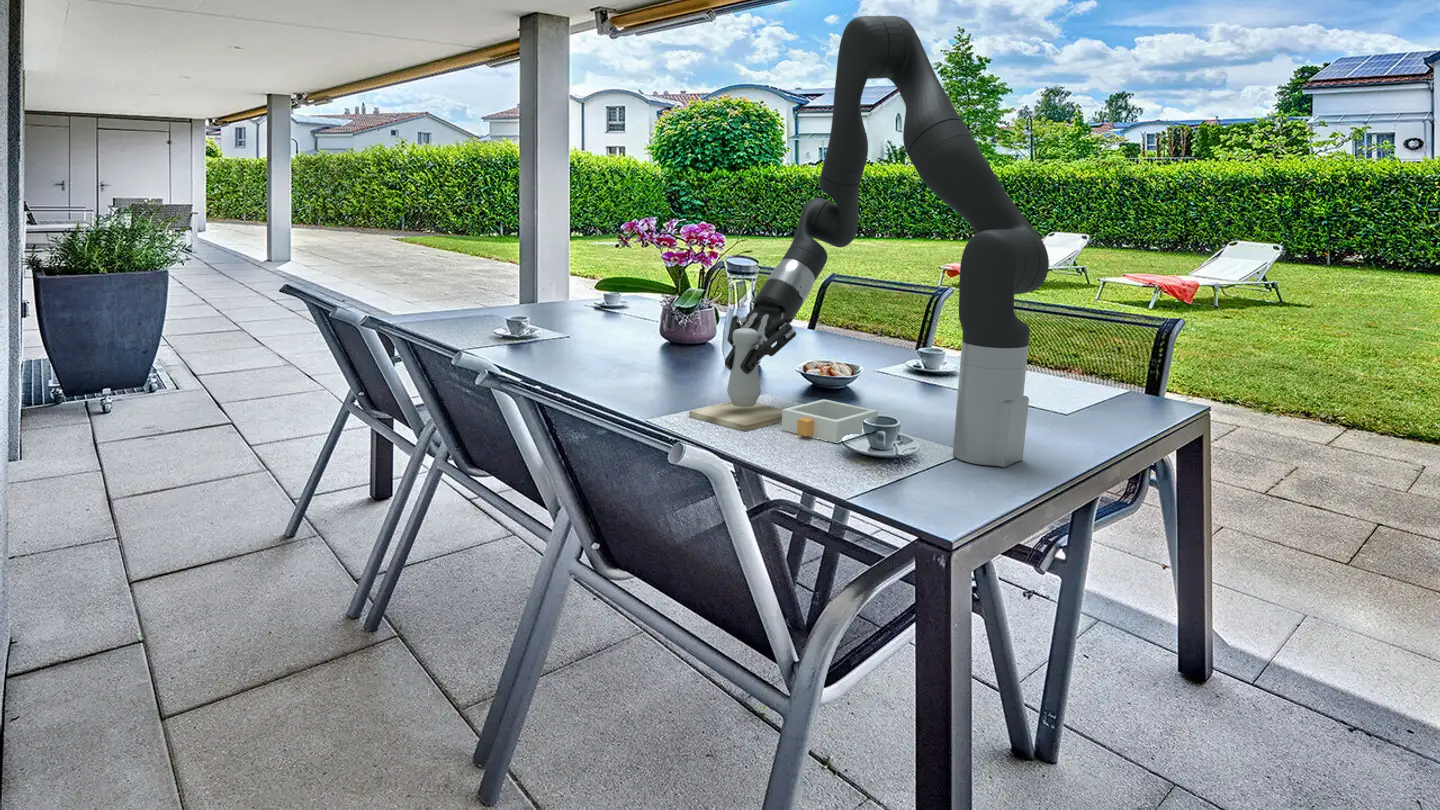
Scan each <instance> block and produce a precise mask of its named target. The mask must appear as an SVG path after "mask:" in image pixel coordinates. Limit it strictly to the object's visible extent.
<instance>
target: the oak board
mask: <svg viewBox="0 0 1440 810" xmlns="http://www.w3.org/2000/svg"><path fill="white" fill-rule="evenodd" d="M782 409H783V408H778V407H774V406H770V405H766V404H761V403H757V402H756V404H755V405H754V406H750V407H739V406H734V405H733V404H732V402H731V401H729V402H723V403H719V404H715V405H710V406H706V407H702V408H698V409H697V408H696V409H693V410H689V412H688V413H689V415H688V417H690V418H693V419H697V420H701V421H703V422H708V423H711V424H715V425H716V424H717V425H720V426H723V427H728V428H730V429H735V430H739V431H742V432H749V431H753V430H755V429H760V428H764V427H768V426H771V425H770V424H772V425H774V423H776V424H778V423H777V422H779V423H781V422H780V421H782ZM767 425H768V426H767ZM763 426H764V427H763ZM752 429H753V430H752Z"/></svg>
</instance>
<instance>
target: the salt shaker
mask: <svg viewBox="0 0 1440 810" xmlns="http://www.w3.org/2000/svg"><path fill="white" fill-rule="evenodd" d="M757 340H758V335H757V331H756V330H754V329H750V328H740V329H736V330H735V331H734V332H733V342H734V343H736V347H735V354H734V361H733V365H732V370H730V375H729V378H728V383H727V388H726V391H727V395H728V397H729V400H730V402H732V404H733V405H734V406H739V407H750V406H754V405H755V404H756V403H757V401H758V399H759V397H760V396H761V391H762V390H761V384H760V383H761V382H760V375H759V368H758V363H757V364H756V366H755V368H754V369H753V370H752V371H751V372H750V373H749V374H746V373H744V372H743V371H742V369H741V368H740V365H741V363H742V362H743V360H744V359H745V357H746V355H747V354H748V352H749V351H750V349H751V350H753V345H754V343H756V342H757Z"/></svg>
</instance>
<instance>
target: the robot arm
mask: <svg viewBox="0 0 1440 810" xmlns="http://www.w3.org/2000/svg"><path fill="white" fill-rule="evenodd" d="M837 55H838V56H837V64H836V74H835V75H836V76H835V83H834V84H835V85H834V92H833V93H834V95H833V103H832V104H833V107H832V119H831V125H830V126H831V127H830V133H829V140H828V144H827V149H826V153H825V155H824V161H823V164H822V169H821V173H820V175H819V181H818V182H819V185H818V186H819V188H820V190H821V191H822V192H823V193H824V194H826V195H827V196H828V197H830V198H831V199H832V200H833V201H834V202H832V201H830V200H828V199H825V198H822V197H813V198H811V199H810V200H808V201H807V202H805V204H804V206H803V207H802V210H801V213H800V217H799V220H798V224H797V228H796V232H795V234H794V237H793V238H792V239H793V240H792V242H791V244H790V246H789V248H788V249H787V251H786V253H785V254H784V256H783V257H782V258H781V260H780V262H779V263H778V264H777V265H776V266H775V267H774V269H773V270H772V272H771V273H770V274H769V276H768V278H767V279H766V280H765V282H764V284H763V285H762V287H761V288H760V290H759V292H758V294H757V295H756V296H755V298H754V304H753V308H752V310H750V311H749V312H748V313H747V314H746V316H743V317H739V316H738V315H733V316H732V317H731V321H730V326H729V329H728V335H727V339H726V340H727V342H728V343H729V344H730V346H731V347H732V348H731V350H730V351H729V353H728V354H727V356H726V358H725V360H724V366H725V367H726V368H727V369H728V371H731V370H732V365H733V361H734V354H735V347H736V343H734V342H733V332H734V331H735V330H736V329H740V328H750V329H754V330H756V331H757V335H758V340H757V342H756V343H754V345H753V350H751V349H750V351H749V352H748V354H747V355H746V357H745V359H744V360H743V362H742V363H741V365H740V368H741V369H742V371H743V372H744V373H746V374H749V373H750V372H751V371H752V370H753V369H754V368H755V366H756V364H757V365H758V363H759V362H760V360H761V359H762V358H764V357H765V356H768V357H773V356H775V355H776V354H778V352H779V351H780V350H782V349H783V348H784V347H785V346H786V345H787V344H788V343H790V341H792V340H793V339H794V338H795V337H796V336H797V332H796V331H795V329H794V327H793V326H792V325H791V323H792V322H793V320H794V319H795V318H796V316H797V314H798V312H799V311H800V309H801V307H802V306H803V304H804V303H805V301H806V300H807V298H808V296H809V295H810V293H811V291H812V287H814V284H815V282H816V281H817V279H818V277H819V275H820V274H821V272H822V271H823V269H824V268H825V267H826V266H825V265H827V264H826V263H827V262H828V253H827V250H826V249H825V248H824V246H823V245H822V244H821V243H819V242H818V241H821V242H823V243H825V244H828V245H830V246H832V247H835V248H844V247H845V248H846V246H848V245H849V244H851V243H852V242H853V240H854V239H855V238H856V235H857V232H858V228H859V191H860V185H861V181H862V178H863V174H864V171H865V168H866V167H865V166H866V163H867V159H868V154H869V141H868V135H867V131H866V128H865V124H864V120H863V117H862V109H861V108H862V107H861V102H862V96H863V92H864V89H865V86H866V83H867V82H868V80H873V79H875V80H877V79H887V80H890V81H891V82H892V83H893V84H894V86H895V87H896V89H897V90H898V92H899V94H900V96H901V98H902V99H903V103H904V105H905V116H904V122H903V130H902V131H903V132H902V133H903V134H902V140H903V146H904V149H905V152H906V154H907V156H908V159H909V160H910V161H911V163H912V165H913V167H914V168H915V170H916V172H917V174H918V175H919V177H920V179H921V180H922V181H923V183H924V185H926V187H927V188H928V189H929V190H930V191H931V192H932V193H934V194H935V195H936V196H937V197H938V198H939V199H940V200H942V202H944V203H945V204H947V206H949V208H951V209H952V210H954V211H955V212H956V213H958V214H959V215H960V216H961V217H962V218H963V219H964V220H965V221H966V222H967V223H968V224H969V225H970V226H971V228H972V229H973V231H974V233H975V234H974V235H973V236H972V237H970V238H969V240H968V242H967V243H966V245H965V247H964V250H963V251H962V255H961V261H960V265H959V266H960V267H959V282H958V283H959V286H958V320H959V322H960V326H961V329H962V330H961V331H962V336H961V337H962V338H961V340H962V341H961V350H960V359H959V360H960V362H959V373H958V384H957V385H958V386H957V387H958V388H957V395H956V396H957V398H956V399H957V400H956V409H955V410H956V411H955V421H954V422H955V423H954V436H953V447H952V448H953V449H952V455H953V457H954V458H957V459H959V460H960V461H963V462H965V463H970V464H975V465H982V466H993V467H994V466H997V467H1002V468H1006V467H1008V466H1011V465H1013V464H1016V463H1017V462H1019V461H1022V460H1023V459H1024V451H1025V450H1024V449H1025V441H1026V433H1027V432H1026V431H1027V421H1028V412H1029V401H1030V397H1029V396H1026V395H1025V394H1024V392H1025V386H1026V385H1025V382H1026V375H1027V364H1028V355H1029V354H1028V352H1029V345H1030V336H1031V328H1030V326H1029V325H1028V323H1026V322H1025V321H1022V320H1020V319H1019V318H1018V317H1017V315H1016V313H1015V295H1023V294H1027V293H1030V292H1033V291H1035V290H1037V289H1038V288H1040V287H1041V286H1042V285H1043V284H1044V282H1045V280H1046V279H1047V276H1048V273H1049V267H1050V265H1049V264H1050V260H1049V254H1048V250H1047V248H1046V245H1045V243H1044V242H1043V240H1042V238H1041V236H1039V233H1038V232H1037V231H1036V230H1035V228H1034V227H1033V226H1032V225H1031V223H1030V222H1029V221H1028V219H1027V218H1026V217H1025V216H1024V215H1023V213H1022V212H1021V210H1019V208H1018V207H1017V205H1015V203H1014V202H1013V201H1012V199H1011V198H1010V196H1009V195H1008V193H1007V192H1006V191H1005V189H1004V187H1003V186H1002V183H1001V182H1000V181H999V179H998V177H997V176H996V174H995V173H994V172H995V171H993V168H991V165H990V164H989V163H988V161H987V159H986V158H985V156H984V155H983V153H982V151H981V150H980V148H979V146H978V144H977V142H976V141H975V140H976V139H974V137H973V135H972V134H971V132H970V130H969V129H968V127H967V126H966V124H965V121H964V120H963V119H962V118H961V116H960V115H959V113H958V111H957V110H956V109H955V106H954V105H953V103H952V102H951V100H950V98H949V96H948V94H947V93H946V91H945V89H944V88H943V85H942V84H941V82H940V80H939V78H938V76H937V75H936V73H935V71H934V68H933V65H932V64H931V62H930V59H929V58H928V57H929V56H928V54H927V53H926V49H925V48H924V46H923V44H922V42H921V40H920V37H919V36H918V33H917V31H916V30H915V29H914V26H913V25H912V24H911V23H910V22H909V21H908V19H906V18H904V17H901V16H897V15H863V16H862V15H861V16H857V17H854V18H853V19H851V20H850V21H849V22H848V23H847V24H846V26H845V28H844V30H843V33H842V34H841V37H840V43H839V49H838V54H837ZM815 239H816V240H815ZM774 344H775V345H774Z"/></svg>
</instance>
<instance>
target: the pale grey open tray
mask: <svg viewBox="0 0 1440 810" xmlns="http://www.w3.org/2000/svg"><path fill="white" fill-rule="evenodd" d="M781 409H782V422H781V431H783V430H785V431H784V432H787V431H789V432H788V433H791V432H794V433H793V434H795V433H797V434H796V435H799V436H803V437H806V438H808V437H807V436H811V437H815V438H820V439H823V440H827V441H831V442H839V441H840V440H841V439H842V438H843V437H844V436H846V435H850V434H861V433H862V422H863V421H864V420H865V419H867V418H870V417H875V416H877V417H878V415H879V414H878V412H879V411H878V410H876V409H871V408H867V407H863V406H862V407H861V406H858V405H852V404H848V403H844V402H838V401H834V400H829V399H825V398H824V399H818V400H815V401H811V402H807V403H804V404H803V403H802V404H797V405H796V406H795V405H794V406H791V407H787V408H781Z"/></svg>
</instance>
